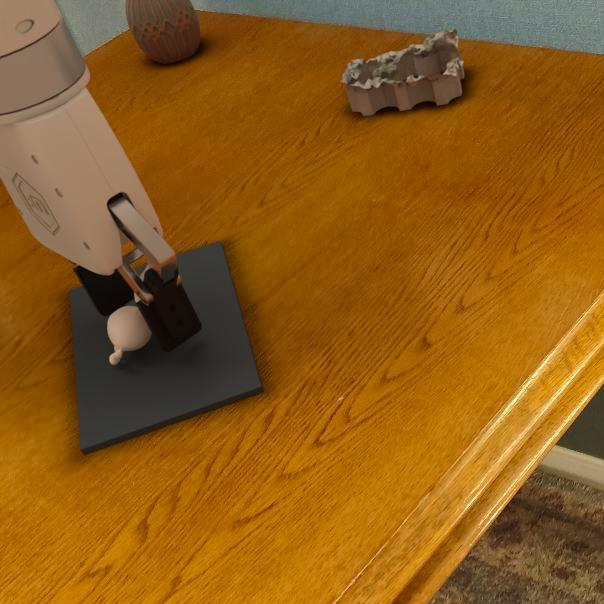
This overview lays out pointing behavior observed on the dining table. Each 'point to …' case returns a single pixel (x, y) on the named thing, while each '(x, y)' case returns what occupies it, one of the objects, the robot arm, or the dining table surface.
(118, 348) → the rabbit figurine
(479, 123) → the dining table surface
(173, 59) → the vase
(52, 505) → the dining table surface
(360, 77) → the egg carton
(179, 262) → the mat
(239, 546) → the dining table surface
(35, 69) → the robot arm
